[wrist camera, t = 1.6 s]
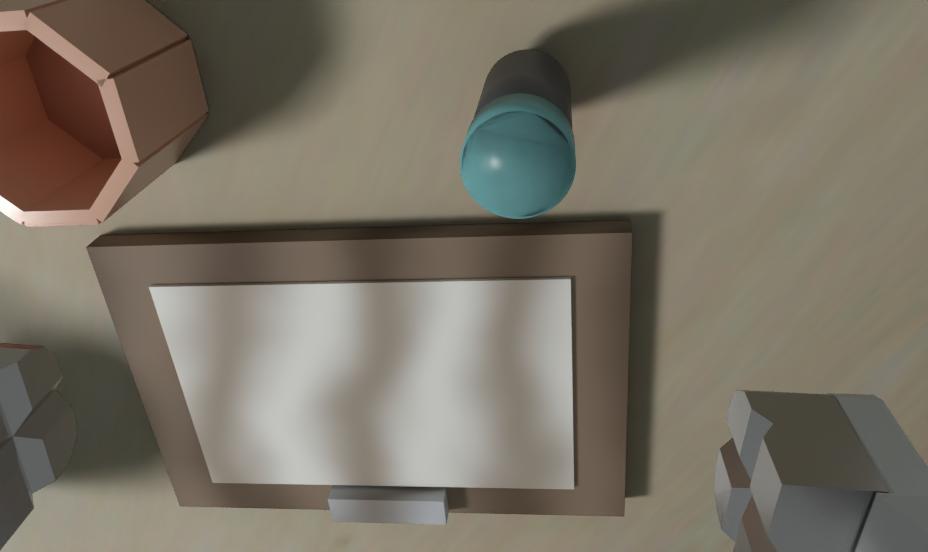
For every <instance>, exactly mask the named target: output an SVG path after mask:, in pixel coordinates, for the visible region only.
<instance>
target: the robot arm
mask: <svg viewBox="0 0 928 552" xmlns="http://www.w3.org/2000/svg"><path fill="white" fill-rule="evenodd" d="M62 377H63V374H62V371H61V368H60V366H59V363H58V360H57V357H56V354H55V353H54V352H52V351H50V350H48V349H47V348H45V347H43V346H32V345H20V344H8V343H0V550H1V549H2V548H3V546H4V545H5V544H6V542H7V541H8V540H9V539H10V537H11V536H12V535H13V534H14V532H15V531H16V530H17V529H18V527H19V526H20V525H21V524H22V522H23V521H24V520H25V519H26V517H27V516H28V515H29V514H30V512H31V511H32V510H33V509H34V506H33V496H32V493H34V492H36V491H38V490H39V489H41V488H43V487H45V486H47V485H49V484H50V483H52V482H54V481H56V479H57V478H58V477H59V475H60V474H61V473H62V471H63V470H64V469H65V467H66V466H67V465H68V463H69V461H70V458H71V455H72V452H73V449H74V446H75V443H76V419H75V415H74V411H73V408H72V405H71V404H70V403H69V402H68V401H67V400H66V399H65V398H64V397H63V396H62V395H61V394H59V393H58V392H57V391H56V388H57V386H58V384H59V382H60V381H61V379H62ZM727 421H728V424H729V427H730V430H731V433H732V436H733V438H732V439H730V440H729V441H728V442H727V443H726V444H724V445H723V446H722V447H721V448H720V450H719V455H718V460H717V465H716V471H715V499H716V507H717V513H718V517H719V521H720V525H721V529H722V530H723V531H724V532H725V533H726V534H727V535H728V536H729V537H730V538H731V539H732V540H734V541H735V546H734V550H733V552H928V468H927V466H926V465H925V463H924V462H923V460H922V459H921V457H920V456H919V454H918V453H917V451H916V450H915V448H914V447H913V445H912V444H911V442H910V441H909V439H908V438H907V436H906V435H905V433H904V432H903V430H902V429H901V427H900V426H899V424H898V423H897V421H896V420H895V418H894V416H893V415H892V413H891V412H890V410H889V409H888V407H887V406H886V404H885V403H884V401H883V400H881V399H880V398H878V397H876V396H875V395H866V394H835V393H827V394H808V393H789V392H769V391H750V390H736V391H735V393H734V395H733V397H732V399H731V402H730V406H729V410H728V414H727Z"/></svg>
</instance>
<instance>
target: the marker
mask: <svg viewBox="0 0 928 552" xmlns="http://www.w3.org/2000/svg"><path fill="white" fill-rule="evenodd" d="M575 170H576V158H575V142H574V135H573V131H572V114H571V94H570V84H569V80H568V77H567V74H566V72H565V70H564V69H563V67H562V66H561V65H560V64H559V63H558V62H557V61H556V60H555V59H554V58H553V57H551V56H549V55H548V54H546V53H543V52H540V51H537V50H519V51H515V52H512V53H510V54H507V55H506V56H504V57H503V58H501V59H500V60H499V61H498V62H497V63H496V64H495V65H494V66H493V67H492V69H491V70H490V72H489V74H488V76H487V78H486V81H485V84H484V88H483V91H482V94H481V97H480V100H479V103H478V106H477V109H476V113H475V116H474V119H473V120H472V122H471V124H470V127H469V129H468V132H467V135H466V138H465V141H464V144H463V147H462V151H461V156H460V171H461V176H462V180H463V183H464V185H465V187H466V189H467V191H468V192H469V194H470V195H471V197H472V198H473V199H474V200H475V201H476V202H477V203H478V204H479V205H480V206H482V207H483V208H484V209H486V210H488V211H489V212H491V213H493V214H496V215H498V216H502V217H506V218H512V219H523V218H530V217H535V216H538V215H541V214H543V213H545V212H547V211H549V210H550V209H552V208H553V207H555V206H556V205H557V204H558V203H559V202H560V201H561V200H562V199H563V198H564V197H565V195H566V194H567V193H568V191H569V189H570V187H571V185H572V182H573V180H574V176H575Z"/></svg>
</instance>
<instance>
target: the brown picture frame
mask: <svg viewBox="0 0 928 552" xmlns="http://www.w3.org/2000/svg"><path fill="white" fill-rule="evenodd" d="M86 248H87V251H88V254H89V257H90V259H91V262H92V265H93V268H94V270H95V273H96V276H97V279H98V281H99V284H100V287H101V290H102V292H103V295H104V298H105V301H106V303H107V306H108V309H109V312H110V314H111V317H112V320H113V323H114V326H115V328H116V331H117V334H118V337H119V339H120V342H121V345H122V348H123V350H124V353H125V356H126V359H127V361H128V364H129V367H130V370H131V372H132V375H133V378H134V381H135V383H136V386H137V389H138V392H139V395H140V397H141V400H142V403H143V406H144V408H145V411H146V414H147V417H148V419H149V422H150V425H151V428H152V430H153V433H154V436H155V439H156V441H157V444H158V447H159V450H160V452H161V455H162V458H163V461H164V464H165V466H166V469H167V472H168V475H169V477H170V480H171V483H172V486H173V488H174V491H175V494H176V497H177V499H178V502H179V505H180V506H187V507H231V508H274V509H318V510H330V512H331V516H332V520H333V522H365V523H405V524H445V525H446V524H447V518H448V513H492V514H536V515H579V516H623V517H624V509H625V473H626V437H627V401H628V365H629V328H630V292H631V256H632V229H631V224H630V220H619V221H585V222H550V223H515V224H481V225H446V226H411V227H377V228H342V229H307V230H273V231H238V232H203V233H169V234H134V235H100V236H99V237H98V238H97V239H95V240H94V241H93V242H92V243H91V244H89V245H88V246H87V247H86Z"/></svg>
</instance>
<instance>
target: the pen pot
mask: <svg viewBox="0 0 928 552" xmlns="http://www.w3.org/2000/svg"><path fill="white" fill-rule="evenodd" d="M187 36H188V34H186V33H185V32H184V31H183V30H181V29H180V28H179V27H178V26H176V25H175V24H174V23H173V22H171V21H170V20H169V19H168V18H166V17H165V16H164V15H163V14H161V13H160V12H159V11H158V10H156V9H155V8H154V7H153V6H151V5H150V4H149V3H148V2H146V1H145V0H1V1H0V211H1V212H3V213H4V214H5V215H7V216H8V217H10V218H11V219H13V220H14V221H16V222H17V223H19V224H20V225H22V224H23V223H25V225H26V227H34V226H66V225H99V224H100V223H101V222H102V223H103V222H104V221H105V220H106V219H107V218H109V217H110V216H111V215H112V214H114V213H115V212H116V211H117V210H119V209H120V208H121V207H122V206H123V205H125V204H126V203H127V202H128V201H130V200H131V199H132V198H133V197H135V196H136V195H137V194H138V193H139V192H141V191H142V190H143V189H144V188H146V187H147V186H148V185H149V184H151V183H152V182H153V181H154V180H155V179H157V178H158V177H159V176H160V175H162V174H163V173H164V172H165V171H167V170H168V169H169V168H170V167H172V166H173V165H174V164H175V163H176V161H177V160H178V159H179V157H180V156H181V154H182V153H183V151H184V150H185V148H186V147H187V145H188V144H189V142H190V141H191V140H192V138H193V137H194V135H195V134H196V132H197V131H198V129H199V128H200V126H201V125H202V123H203V122H204V121H205V119H206V118H207V116H208V115H207V114H206V113H207V112H208V111H209V110H208V106H207V102H206V98H205V94H204V90H203V86H202V82H201V78H200V74H199V70H198V66H197V62H196V58H195V54H194V50H193V46H192V42H191V39H188V40H185V39H186V37H187Z"/></svg>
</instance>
